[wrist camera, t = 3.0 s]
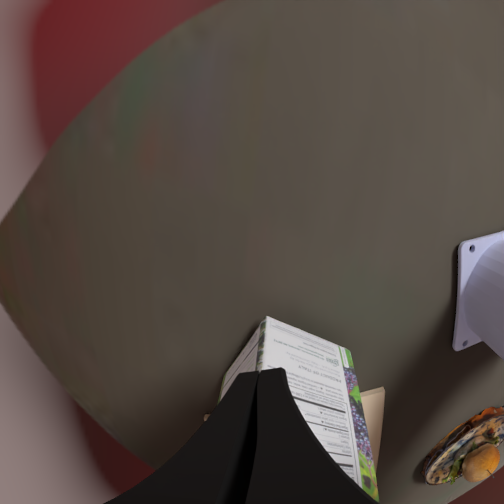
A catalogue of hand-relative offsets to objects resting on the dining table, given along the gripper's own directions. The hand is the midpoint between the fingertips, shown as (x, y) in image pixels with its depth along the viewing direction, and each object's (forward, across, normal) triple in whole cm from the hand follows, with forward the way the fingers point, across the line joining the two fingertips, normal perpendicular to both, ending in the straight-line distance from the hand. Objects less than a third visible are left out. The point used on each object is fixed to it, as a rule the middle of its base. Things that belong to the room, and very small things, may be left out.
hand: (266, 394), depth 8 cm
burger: (+9, -18, +23) cm, 31 cm away
